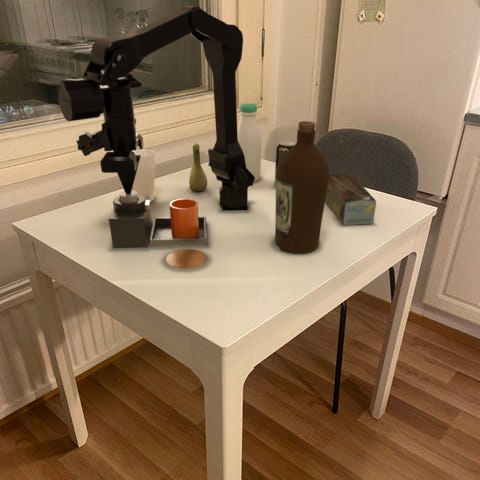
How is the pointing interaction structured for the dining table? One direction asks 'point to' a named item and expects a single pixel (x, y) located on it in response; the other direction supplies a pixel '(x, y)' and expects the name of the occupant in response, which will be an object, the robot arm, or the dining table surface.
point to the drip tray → (164, 237)
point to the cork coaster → (186, 259)
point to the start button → (128, 197)
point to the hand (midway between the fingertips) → (128, 193)
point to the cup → (145, 173)
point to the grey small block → (147, 205)
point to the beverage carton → (350, 200)
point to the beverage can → (282, 151)
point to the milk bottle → (250, 138)
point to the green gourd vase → (197, 172)
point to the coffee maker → (130, 223)
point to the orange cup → (184, 218)
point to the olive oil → (301, 194)
